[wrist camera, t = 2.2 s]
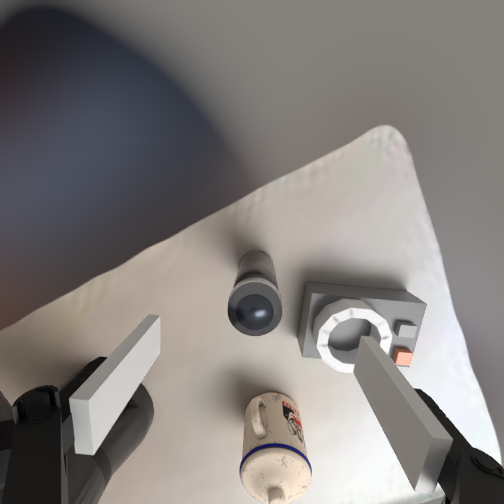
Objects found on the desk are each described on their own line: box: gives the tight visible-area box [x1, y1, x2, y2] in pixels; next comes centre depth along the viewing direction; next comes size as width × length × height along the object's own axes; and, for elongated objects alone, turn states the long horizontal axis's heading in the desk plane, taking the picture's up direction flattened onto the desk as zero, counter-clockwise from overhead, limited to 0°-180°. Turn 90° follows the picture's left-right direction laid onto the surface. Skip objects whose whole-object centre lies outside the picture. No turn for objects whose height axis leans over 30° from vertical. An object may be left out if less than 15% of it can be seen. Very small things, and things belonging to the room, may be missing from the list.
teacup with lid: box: [240, 392, 312, 504], centre depth 32 cm, size 12×9×12 cm
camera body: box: [298, 282, 427, 373], centre depth 31 cm, size 14×9×6 cm, turn 85°
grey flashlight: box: [228, 250, 282, 336], centre depth 26 cm, size 5×5×13 cm
